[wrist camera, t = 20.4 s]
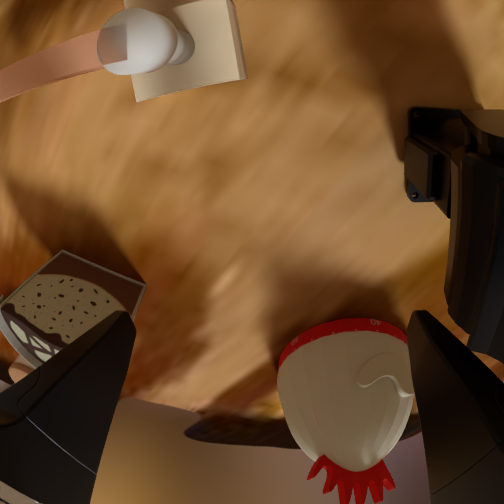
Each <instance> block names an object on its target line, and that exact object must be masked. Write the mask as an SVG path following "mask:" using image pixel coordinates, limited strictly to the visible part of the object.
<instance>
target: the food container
mask: <svg viewBox="0 0 504 504" xmlns="http://www.w3.org/2000/svg"><path fill="white" fill-rule="evenodd" d="M146 286H147V285H146V284H144V283H141V282H139V281H136V280H133V279H131V278H129V277H126V276H124V275H121V274H119V273H116V272H114V271H111V270H109V269H107V268H104V267H102V266H99V265H97V264H95V263H92V262H90V261H88V260H85V259H83V258H81V257H79V256H76V255H74V254H72V253H70V252H67V251H65V250H63V249H62V250H61V251H60V252H59V253H57V254H56V255H55V256H54V257H52V258H51V259H50V260H49V261H48V262H47V263H45V264H44V265H43V266H42V267H41V268H39V269H38V270H37V271H36V272H35V273H34V274H33V275H31V276H30V277H29V278H28V279H27V280H26V281H25V282H24V283H22V284H21V285H20V286H19V287H18V288H17V289H16V290H15V291H14V292H13V293H12V294H11V295H9V296H8V297H7V298H6V299H4V296H3V295H1V297H0V330H1V331H2V333H3V334H4V336H5V337H6V338H7V340H8V341H9V342H10V344H11V345H12V346H13V347H14V348H15V350H16V351H17V352H18V353H19V354H20V355H21V356H22V357H23V358H24V359H25V360H26V361H28V362H29V363H30V364H31V365H32V366H33V367H35V368H37V367H39V366H40V365H42V364H43V363H44V362H46V361H47V360H48V359H50V358H51V357H52V356H54V355H55V354H56V353H58V352H59V351H60V350H62V349H63V348H64V347H66V346H67V345H69V344H70V343H71V342H73V341H74V340H75V339H77V338H78V337H79V336H81V335H82V334H84V333H85V332H86V331H88V330H89V329H91V328H92V327H93V326H95V325H96V324H97V323H99V322H100V321H102V320H103V319H104V318H106V317H107V316H109V315H110V314H111V313H113V312H114V311H116V310H125V311H127V312H128V313H129V314H130V316H131V319H132V321H134V318H135V316H136V313H137V310H138V308H139V305H140V303H141V300H142V298H143V296H144V293H145V290H146Z"/></svg>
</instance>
